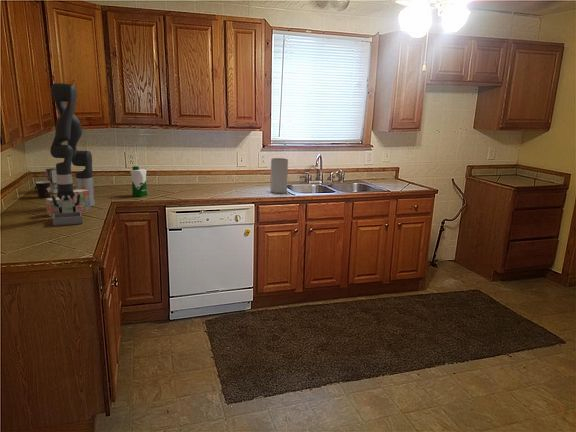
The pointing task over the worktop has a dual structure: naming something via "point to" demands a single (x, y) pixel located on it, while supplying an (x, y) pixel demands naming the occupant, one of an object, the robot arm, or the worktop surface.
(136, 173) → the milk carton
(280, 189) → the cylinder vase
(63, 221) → the bin
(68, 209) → the sage block
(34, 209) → the worktop surface
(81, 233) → the worktop surface
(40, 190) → the coffee mug
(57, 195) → the robot arm
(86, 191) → the stack of blocks
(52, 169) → the coffee box
